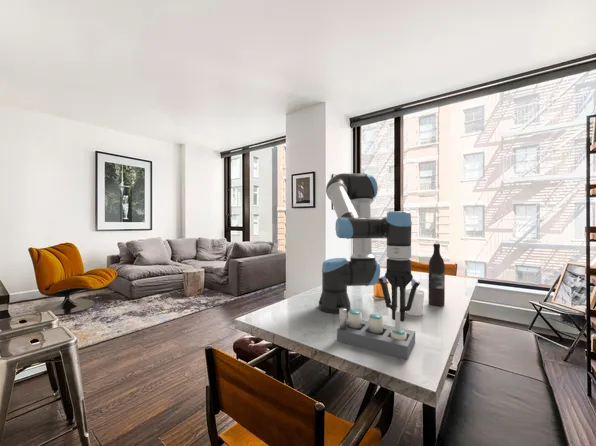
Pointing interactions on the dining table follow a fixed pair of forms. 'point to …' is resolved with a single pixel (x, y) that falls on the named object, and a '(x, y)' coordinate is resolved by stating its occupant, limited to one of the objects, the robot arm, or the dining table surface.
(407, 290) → the white cup
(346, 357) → the dining table surface
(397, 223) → the robot arm
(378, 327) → the knob middle
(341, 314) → the grey metal rod
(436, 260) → the wine bottle
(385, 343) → the plate
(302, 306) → the dining table surface
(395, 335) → the knob
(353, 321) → the knob
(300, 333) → the dining table surface
